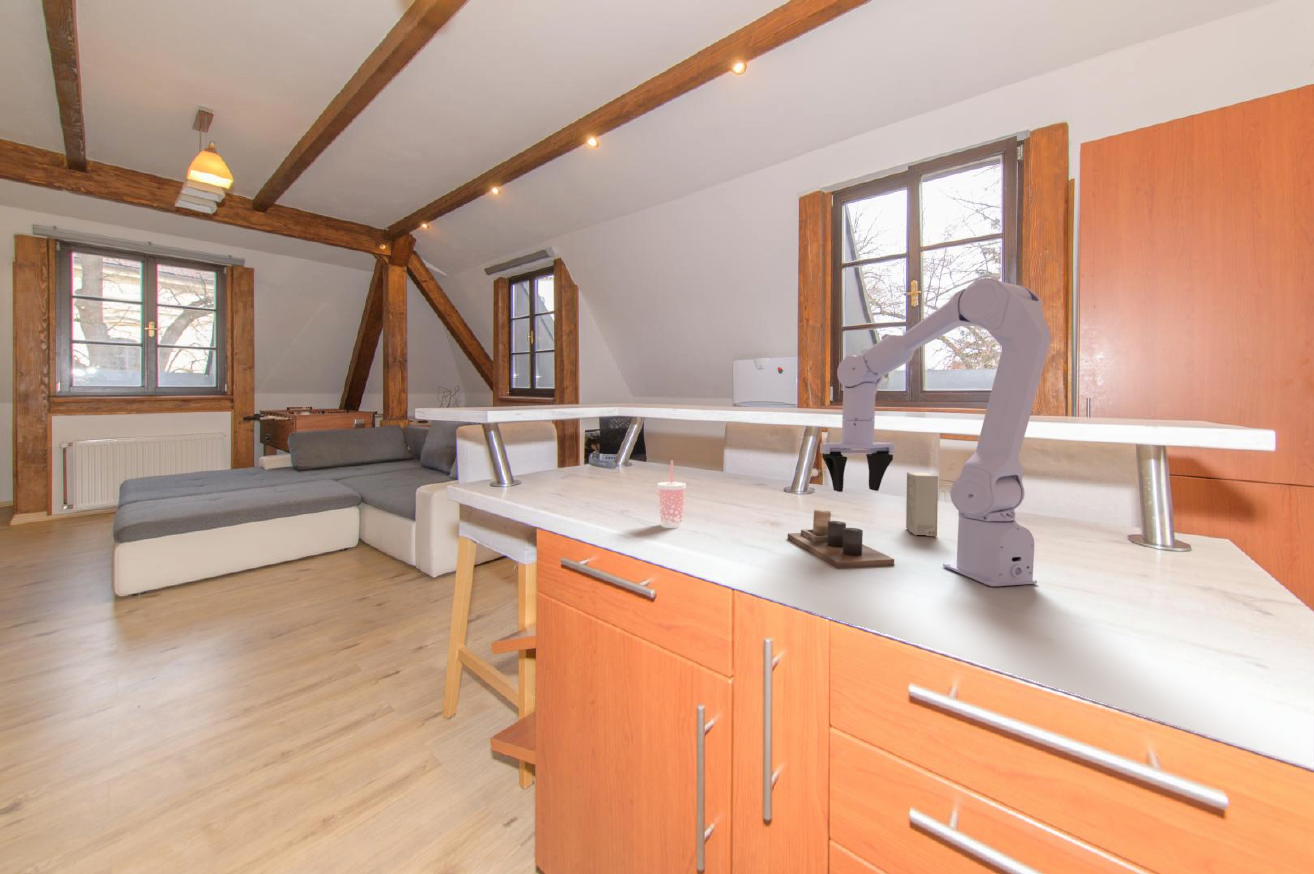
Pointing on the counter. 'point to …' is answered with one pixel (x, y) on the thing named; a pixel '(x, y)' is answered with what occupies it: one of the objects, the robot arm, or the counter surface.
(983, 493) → the robot arm
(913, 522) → the skincare box
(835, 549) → the pin board
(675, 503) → the beverage cup
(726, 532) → the counter surface
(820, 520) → the maple pin
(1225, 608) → the counter surface
